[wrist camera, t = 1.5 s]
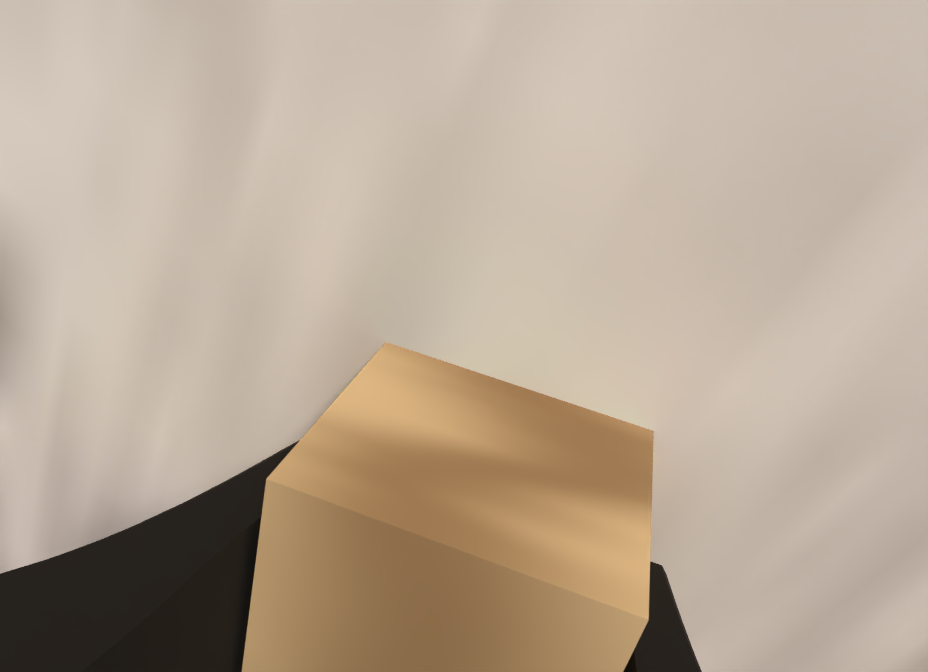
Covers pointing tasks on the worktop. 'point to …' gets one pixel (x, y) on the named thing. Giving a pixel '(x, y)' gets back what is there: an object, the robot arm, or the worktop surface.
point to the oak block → (453, 531)
